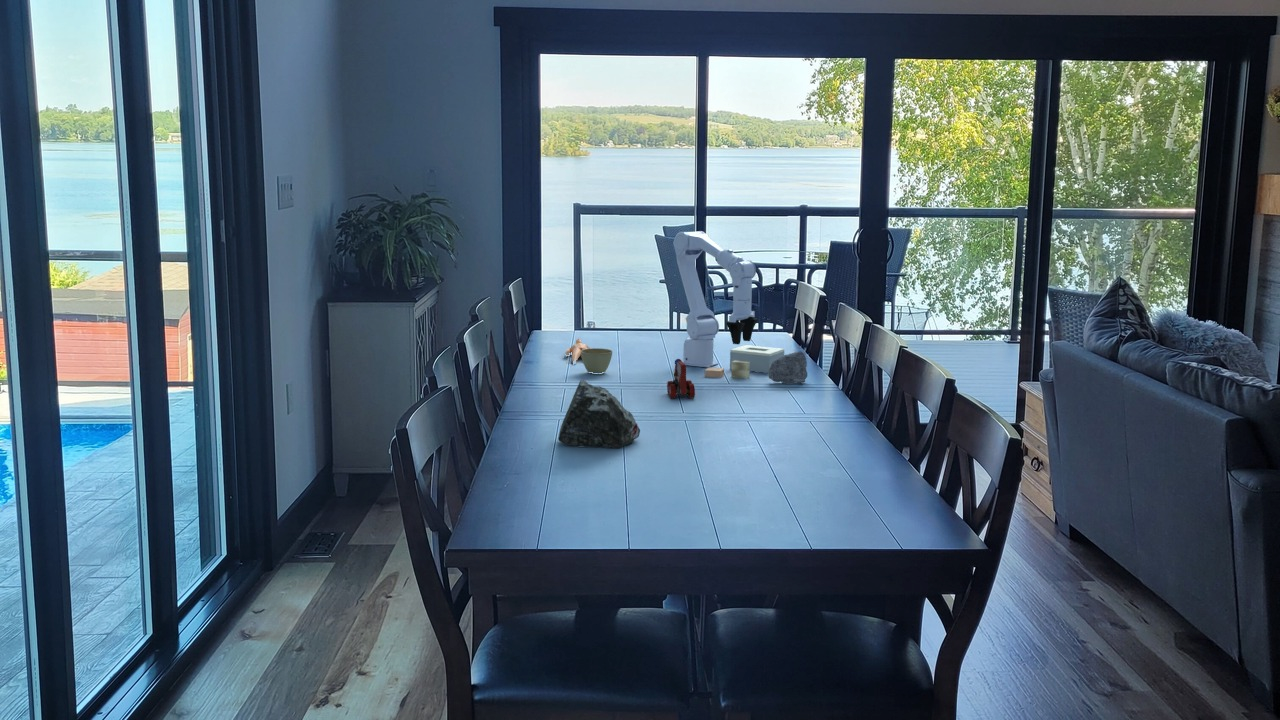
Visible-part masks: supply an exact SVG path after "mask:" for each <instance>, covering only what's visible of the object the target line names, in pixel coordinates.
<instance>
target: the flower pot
mask: <svg viewBox="0 0 1280 720" xmlns="http://www.w3.org/2000/svg"><path fill="white" fill-rule="evenodd" d="M589 348H590V349H583V350H581V357H580V358H581V360H582V363H583V366H584V367H585V370H586V371H587V373H588V372H593V373H602V372H605V373H606V371H607V370H608V367H609V366H610V364H611V360H612V358H613V357H612V356H613V350H611V349H608V348H602V347H599V348H598V347H595V348H594V347H593V348H592V347H589Z"/></svg>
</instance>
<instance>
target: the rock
mask: <svg viewBox="0 0 1280 720" xmlns="http://www.w3.org/2000/svg"><path fill="white" fill-rule="evenodd" d="M807 362H808V361H807V357H806V355H805V354H804V352H803V351H802V350H799V351H794V352H791V353H788V354H784V356H782V357H780V358H777V359H776V360H774V361H773V362H772V364H771V367H770V368H769V370H768V373H767V374H768V378H769V379H770V380H771V381H772V382H774V383H780V382H781V383H783V384H786V383H793V384H796V383H797V384H802V383H805V382H806V379H807V377H808V371H807V366H808V363H807Z"/></svg>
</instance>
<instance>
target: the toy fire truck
mask: <svg viewBox="0 0 1280 720" xmlns="http://www.w3.org/2000/svg"><path fill="white" fill-rule="evenodd" d="M674 364H675V365H674V373H673V377H674V379H672V380H668V381H667V383H666V388H667V389H666V390H667V392H666V393H667V395H668V396H669V399H672V400H673V399H674V400H675V399H676V397H677V394H679V396H685V395H687V396H688V399H694V398H695V395H696V387H695V384H694V383H693V382H692V380H691V379H690V380H689V379H687V365H685V364H684V363H683V361H682V359H680V358H676V359H675V360H674Z"/></svg>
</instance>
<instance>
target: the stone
mask: <svg viewBox="0 0 1280 720" xmlns="http://www.w3.org/2000/svg"><path fill="white" fill-rule="evenodd" d="M621 403H622V402H620V401H619V400H618V398H617V396H614V395H613V394H612V393H611V392H610V391H609V390H607V389H606V388H605V387H602V386H600V385H598V386H597V385H592V384H589V383H588V382H587V381H586V380H585V379H580V381H579V383H578V385H577V387H576V389H575V392H574V394H573V396H572V398H571V402H570V404H569V406H568V408H567V411H566V413H565V416H564V418H563V419H562V423H561V425H560V429H559V434H558V436H557V437H558V438H557V440H558V441H559V442H560V443H562V444H566V445H570V446H573V447H577V446H594V447H598V446H600V447H601V446H602V447H603V448H605V447H612V448H614V449H616V448H619V449H621V448H623V446H629V444H630V445H631V444H633V441H635V440H636V439H638V438H639V437H640V433H641V429H640V427H639V425H638V423H637V422H636V419H635V418H634V415H633V414H632V412H631V411H629V410H627V408H625V407H624V406H623V405H622V404H621ZM602 447H601V448H602Z"/></svg>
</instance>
